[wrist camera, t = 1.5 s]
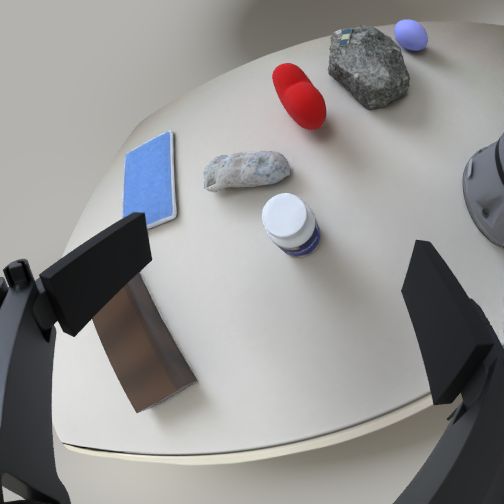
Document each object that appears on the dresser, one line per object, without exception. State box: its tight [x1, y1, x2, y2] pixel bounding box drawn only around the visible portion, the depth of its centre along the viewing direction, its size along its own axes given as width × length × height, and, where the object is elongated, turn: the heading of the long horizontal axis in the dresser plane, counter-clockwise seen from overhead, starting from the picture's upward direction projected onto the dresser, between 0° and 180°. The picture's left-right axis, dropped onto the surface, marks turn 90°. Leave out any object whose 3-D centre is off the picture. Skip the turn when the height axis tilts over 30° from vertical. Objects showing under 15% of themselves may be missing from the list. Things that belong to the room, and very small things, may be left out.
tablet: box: [123, 130, 177, 229], centre depth 48 cm, size 19×13×1 cm, turn 12°
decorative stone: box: [204, 151, 290, 192], centre depth 39 cm, size 13×7×5 cm, turn 94°
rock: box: [328, 26, 410, 110], centre depth 34 cm, size 18×14×10 cm
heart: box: [272, 63, 326, 130], centre depth 35 cm, size 12×5×10 cm, turn 21°
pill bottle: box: [262, 193, 321, 258], centre depth 32 cm, size 6×6×10 cm
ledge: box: [92, 273, 197, 413], centre depth 41 cm, size 26×12×5 cm, turn 37°
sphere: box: [394, 20, 428, 51], centre depth 32 cm, size 7×7×7 cm
